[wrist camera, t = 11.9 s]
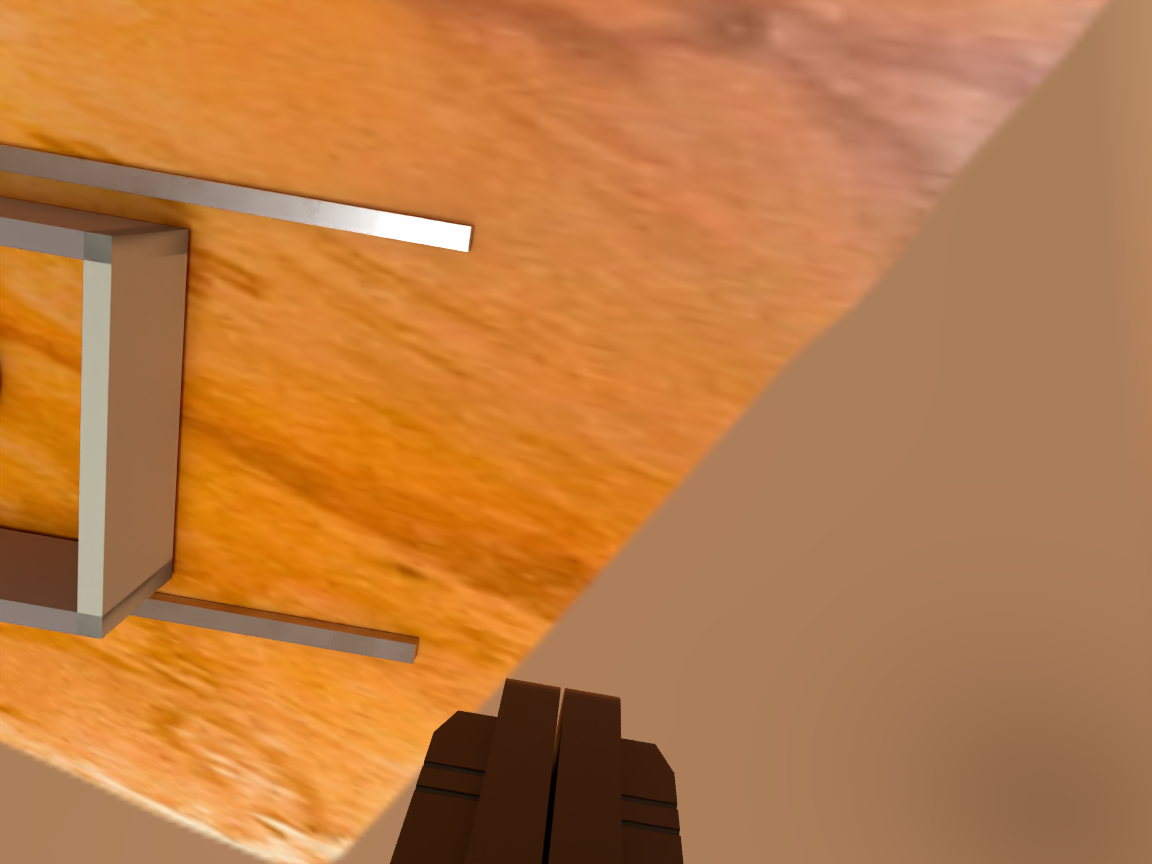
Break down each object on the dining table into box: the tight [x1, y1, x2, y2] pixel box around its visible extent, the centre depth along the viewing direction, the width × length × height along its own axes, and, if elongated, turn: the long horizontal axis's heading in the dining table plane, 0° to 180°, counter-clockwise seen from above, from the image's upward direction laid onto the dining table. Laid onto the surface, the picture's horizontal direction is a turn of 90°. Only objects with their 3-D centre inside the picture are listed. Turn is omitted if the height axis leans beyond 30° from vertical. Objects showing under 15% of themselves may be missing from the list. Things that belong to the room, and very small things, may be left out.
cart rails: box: [0, 144, 473, 664], centre depth 47 cm, size 24×30×1 cm
